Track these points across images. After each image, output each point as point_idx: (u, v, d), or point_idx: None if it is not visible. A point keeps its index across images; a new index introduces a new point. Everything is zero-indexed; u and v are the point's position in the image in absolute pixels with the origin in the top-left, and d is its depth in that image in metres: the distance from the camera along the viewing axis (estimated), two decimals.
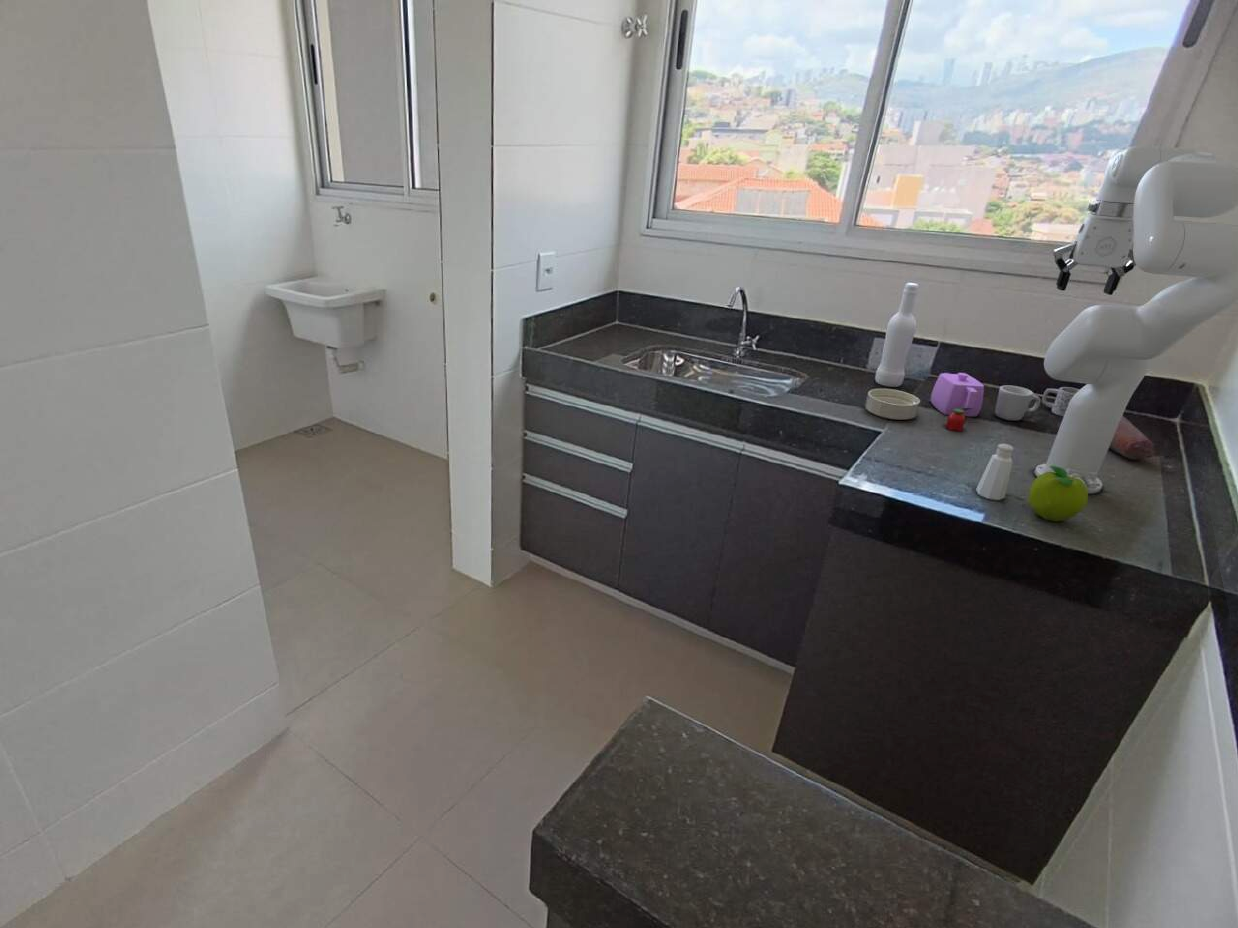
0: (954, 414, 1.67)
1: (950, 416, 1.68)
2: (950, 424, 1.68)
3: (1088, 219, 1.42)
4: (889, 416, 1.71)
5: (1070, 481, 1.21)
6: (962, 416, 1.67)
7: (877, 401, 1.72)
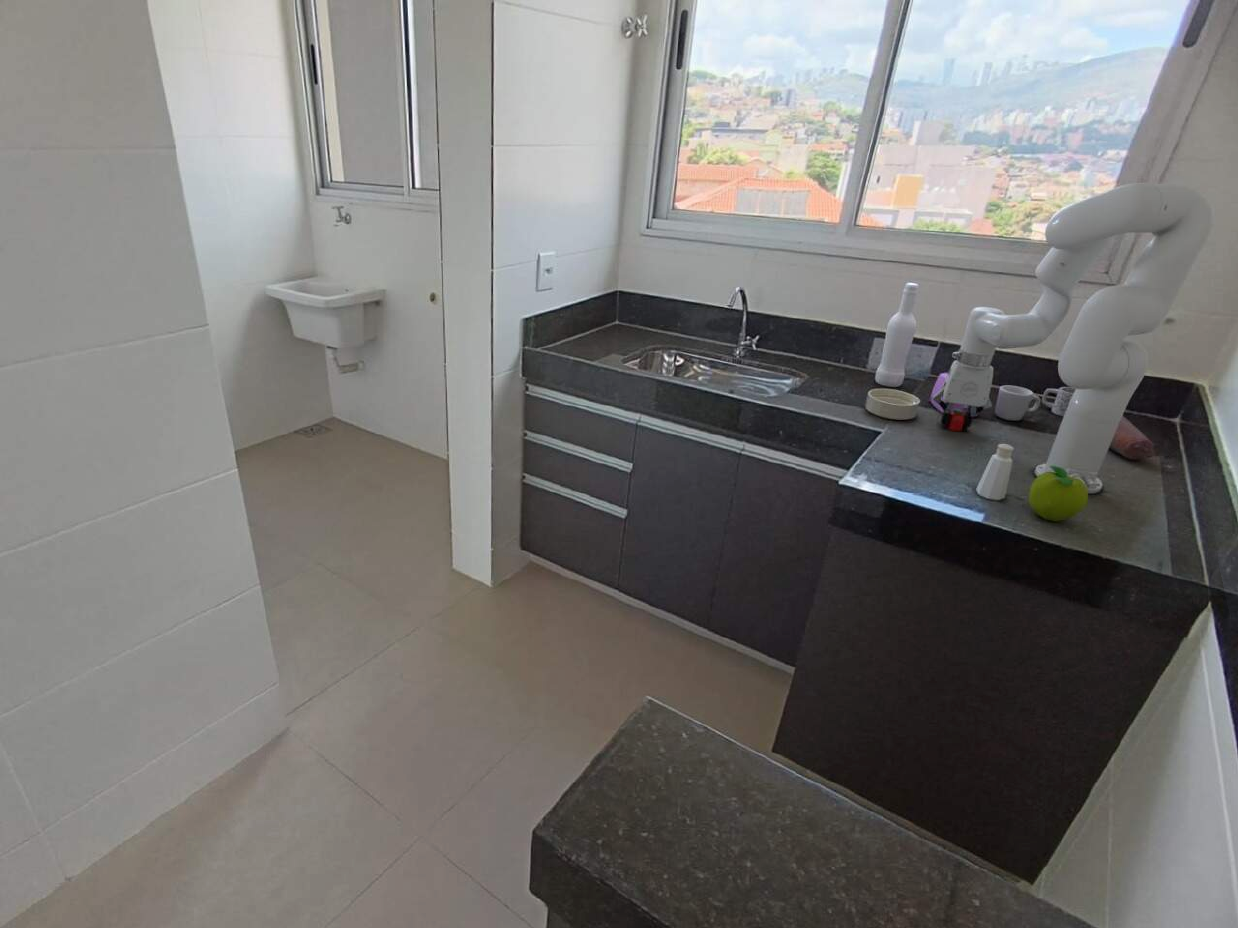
0: (954, 414, 1.67)
1: None
2: (950, 424, 1.68)
3: (953, 365, 1.62)
4: (889, 416, 1.71)
5: (1070, 481, 1.21)
6: (962, 416, 1.67)
7: (877, 401, 1.72)
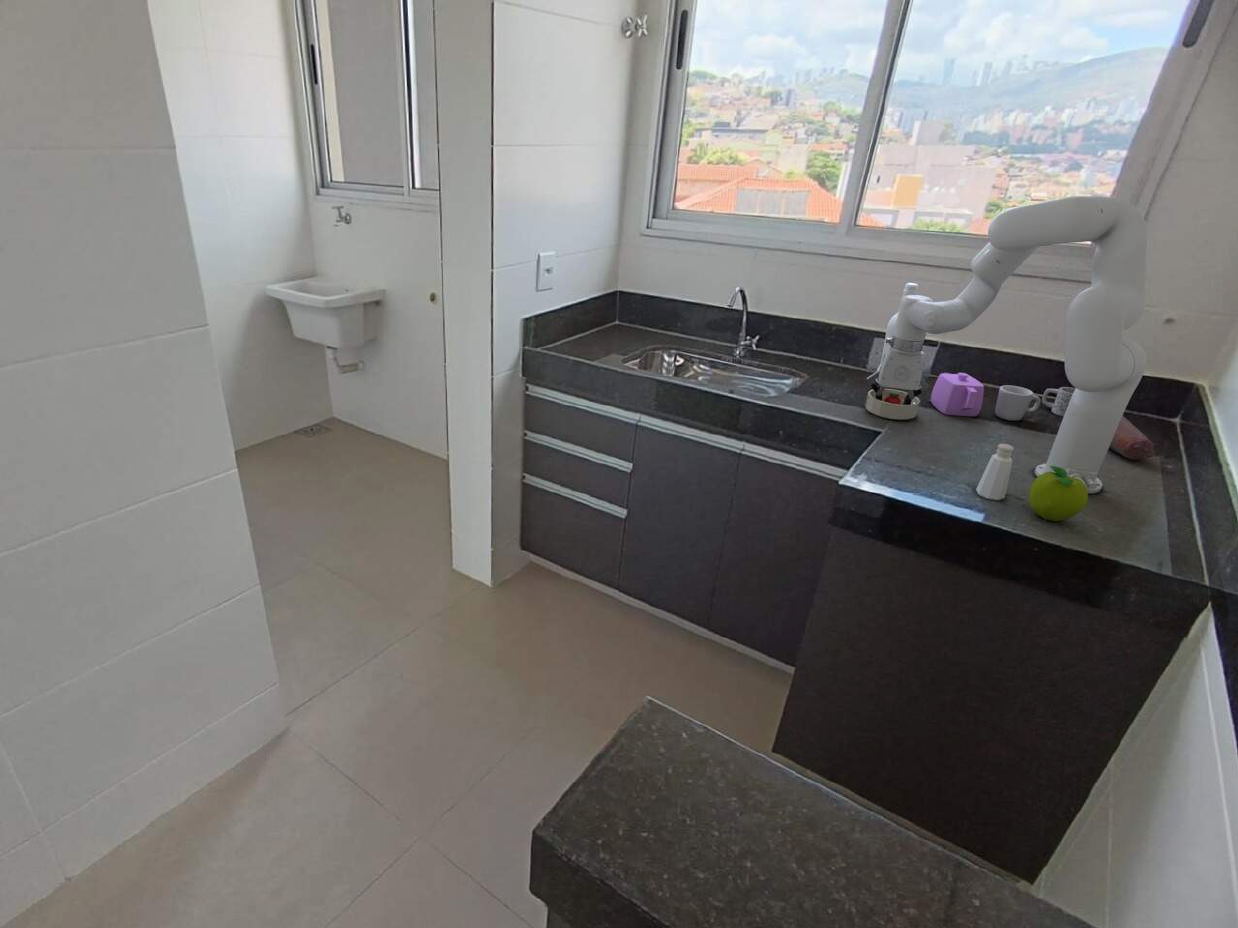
0: (889, 396, 1.75)
1: (886, 398, 1.76)
2: None
3: (887, 350, 1.70)
4: (889, 416, 1.71)
5: (1070, 481, 1.21)
6: (897, 398, 1.74)
7: (877, 401, 1.72)
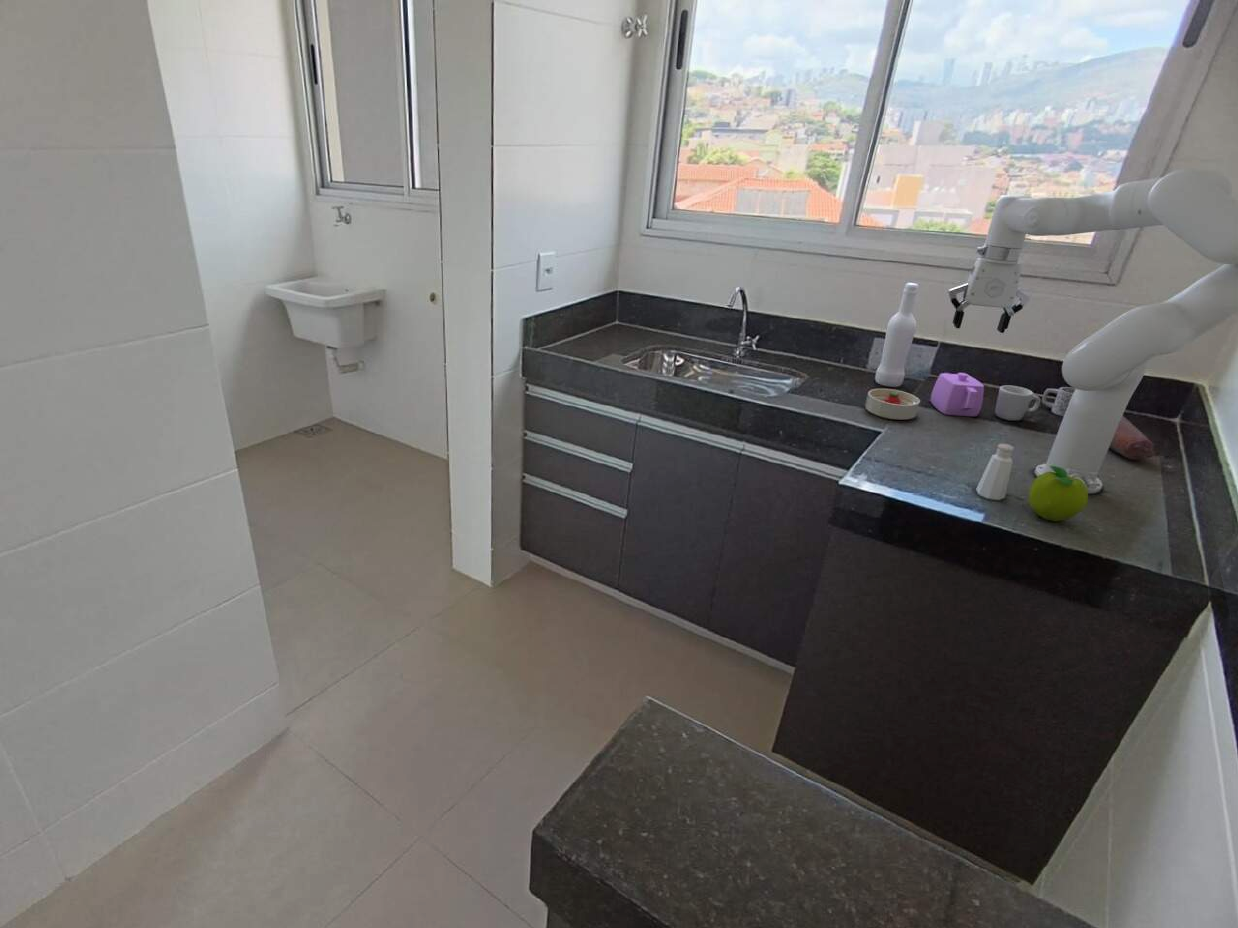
0: (889, 396, 1.75)
1: (886, 398, 1.76)
2: None
3: (977, 262, 1.49)
4: (889, 416, 1.71)
5: (1070, 481, 1.21)
6: (897, 398, 1.74)
7: (877, 401, 1.72)
